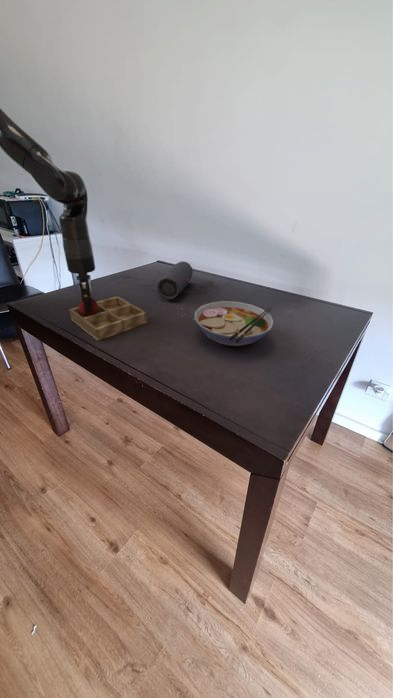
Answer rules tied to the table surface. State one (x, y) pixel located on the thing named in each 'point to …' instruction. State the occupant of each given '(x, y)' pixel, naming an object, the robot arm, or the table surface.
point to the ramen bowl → (233, 322)
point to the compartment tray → (110, 318)
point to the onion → (94, 306)
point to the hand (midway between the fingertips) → (88, 307)
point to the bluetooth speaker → (175, 280)
